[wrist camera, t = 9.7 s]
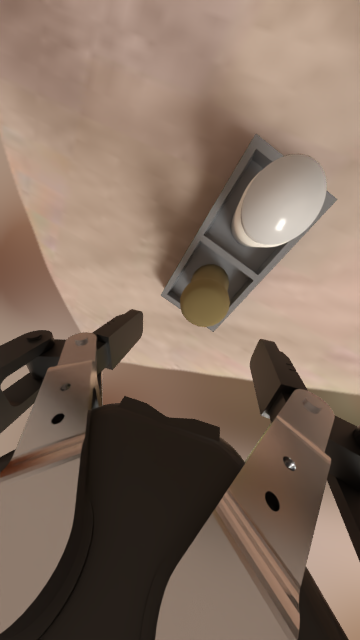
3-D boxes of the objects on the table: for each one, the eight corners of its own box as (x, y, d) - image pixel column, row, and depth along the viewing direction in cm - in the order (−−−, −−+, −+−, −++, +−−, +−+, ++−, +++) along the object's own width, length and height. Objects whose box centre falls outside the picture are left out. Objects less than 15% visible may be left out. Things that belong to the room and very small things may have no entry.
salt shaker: (238, 193, 19) (254, 147, 10) (286, 198, 18) (350, 151, 9) (226, 243, 22) (230, 242, 13) (267, 249, 21) (304, 252, 12)
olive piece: (183, 282, 25) (160, 305, 16) (211, 255, 23) (205, 261, 13) (207, 309, 26) (200, 345, 17) (237, 285, 24) (249, 312, 14)
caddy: (250, 150, 18) (255, 133, 15) (320, 206, 18) (337, 199, 16) (166, 290, 27) (160, 295, 25) (213, 323, 28) (213, 332, 25)
